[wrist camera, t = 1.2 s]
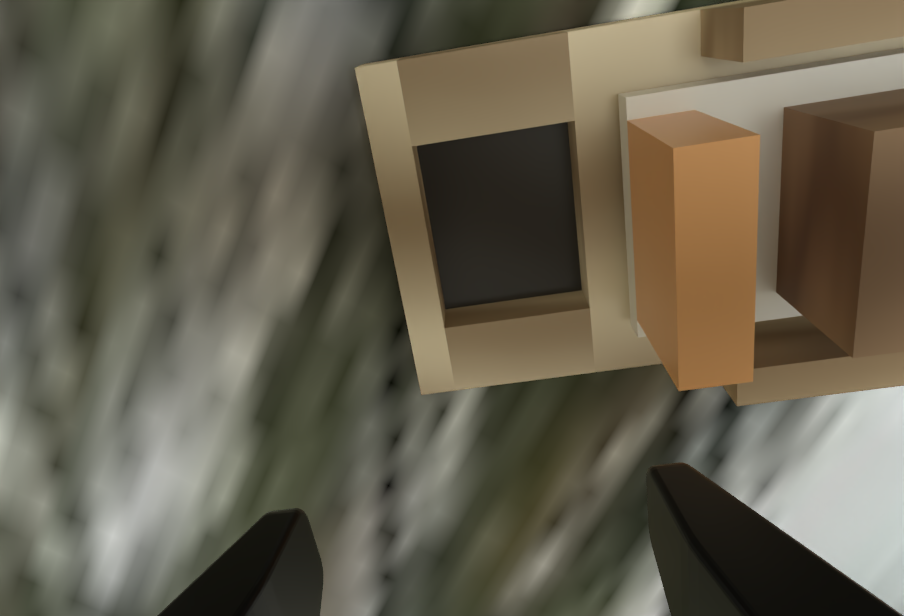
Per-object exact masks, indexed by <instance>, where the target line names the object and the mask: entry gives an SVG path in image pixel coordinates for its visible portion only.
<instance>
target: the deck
mask: <svg viewBox="0 0 904 616" xmlns="http://www.w3.org/2000/svg"><path fill="white" fill-rule="evenodd" d="M900 48H904V0H739V1H733V2H727V3H721V4H715V5H709V6H703V7H698V8H692V9H686V10H680V11H674V12H668V13H662V14H656V15H650V16H644V17H638V18H632V19H627V20H621V21H615V22H609V23H603V24H597V25H591V26H585V27H579V28H573V29H567V30H561V31H556V32H550V33H544V34H538V35H532V36H526V37H520V38H514V39H508V40H502V41H496V42H490V43H485V44H479V45H473V46H467V47H461V48H455V49H449V50H443V51H437V52H431V53H425V54H420V55H414V56H408V57H402V58H396V59H390V60H384V61H378V62H372V63H366V64H362V65H360V66H358V67H355V72H356V77H357V82H358V87H359V92H360V96H361V101H362V106H363V111H364V116H365V121H366V126H367V131H368V136H369V141H370V145H371V150H372V155H373V160H374V165H375V170H376V175H377V180H378V185H379V190H380V194H381V199H382V204H383V209H384V214H385V219H386V224H387V229H388V234H389V239H390V243H391V248H392V253H393V258H394V263H395V268H396V273H397V278H398V283H399V288H400V292H401V297H402V302H403V307H404V312H405V317H406V322H407V327H408V332H409V337H410V341H411V346H412V351H413V356H414V361H415V366H416V371H417V376H418V381H419V385H420V390H421V395H424V394H432V393H440V392H447V391H455V390H463V389H470V388H478V387H486V386H493V385H501V384H509V383H516V382H524V381H532V380H539V379H547V378H555V377H562V376H570V375H578V374H585V373H593V372H601V371H608V370H616V369H624V368H631V367H639V366H647V365H654V364H662V362H661V360H660V358H659V357H658V355H657V353H656V352H655V350H654V348H653V346H652V345H651V343H650V341H649V340H648V338H647V336H646V337H639V338H638V337H637V335H636V333H635V331H634V330H633V328H632V326H631V322H630V304H629V286H628V267H627V249H626V231H625V212H624V194H623V176H622V157H621V139H620V121H619V102H618V94H620V93H626V92H632V91H639V90H645V89H651V88H657V87H664V86H670V85H676V84H682V83H688V82H695V81H701V80H707V79H713V78H719V77H726V76H732V75H738V74H744V73H751V72H757V71H763V70H769V69H775V68H782V67H788V66H794V65H800V64H806V63H813V62H819V61H825V60H831V59H837V58H844V57H850V56H856V55H862V54H869V53H875V52H881V51H887V50H893V49H900ZM903 385H904V352H898V353H890V354H883V355H875V356H867V357H859V358H852V357H851V356H849V355H848V354H847V353H846V352H845V351H844V350H842V349H841V348H840V347H839V346H838V345H837V344H835V343H834V342H833V341H832V340H831V339H830V338H829V337H827V336H826V335H825V334H824V333H823V332H822V331H820V330H819V329H818V328H817V327H816V326H815V325H813V324H812V323H811V322H810V321H809V320H808V319H806V318H805V317H804V316H796V317H789V318H781V319H774V320H766V321H759V322H755V335H754V370H753V382H747V383H739V384H731V385H723V387H724V389H725V390H726V391H727V393H728V394H729V396H730V397H731V398H732V400H733V401H734V403H735V404H736V405H737V406H743V405H751V404H759V403H767V402H775V401H783V400H791V399H799V398H807V397H815V396H823V395H831V394H839V393H847V392H855V391H863V390H871V389H879V388H887V387H895V386H903Z"/></svg>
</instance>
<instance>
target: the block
mask: <svg viewBox="0 0 904 616" xmlns="http://www.w3.org/2000/svg"><path fill="white" fill-rule="evenodd" d="M776 293H777V294H779V295H780V296H781V297H782V298H783V299H784V300H786V301H787V302H788V303H789V304H790V305H791V306H793V307H794V308H795V309H796V310H797V311H798V312H799V313H801V314H802V315H803V316H804V317H805V318H806V319H808V320H809V321H810V322H811V323H812V324H813V325H815V326H816V327H817V328H818V329H819V330H820V331H822V332H823V333H824V334H825V335H826V336H827V337H829V338H830V339H831V340H832V341H833V342H834V343H835V344H837V345H838V346H839V347H840V348H841V349H842V350H844V351H845V352H846V353H847V354H848V355H849V356H851V357H852V358H859V357H867V356H875V355H883V354H890V353H898V352H904V88H903V89H897V90H891V91H884V92H878V93H872V94H865V95H859V96H852V97H846V98H840V99H833V100H827V101H820V102H814V103H808V104H801V105H795V106H789V107H784V115H783V139H782V163H781V186H780V210H779V234H778V258H777V282H776Z"/></svg>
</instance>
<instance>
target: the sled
mask: <svg viewBox="0 0 904 616" xmlns="http://www.w3.org/2000/svg"><path fill="white" fill-rule="evenodd" d="M903 88H904V48H900V49H893V50H887V51H881V52H875V53H869V54H862V55H856V56H850V57H844V58H837V59H831V60H825V61H819V62H813V63H806V64H800V65H794V66H788V67H782V68H775V69H769V70H763V71H757V72H751V73H744V74H738V75H732V76H726V77H719V78H713V79H707V80H701V81H695V82H688V83H682V84H676V85H670V86H664V87H657V88H651V89H645V90H639V91H632V92H626V93H620V94H618V102H619V121H620V139H621V157H622V176H623V194H624V212H625V231H626V249H627V267H628V286H629V304H630V322H631V326H632V328H633V330H634V331H635V333H636V335H637V337H638V338H639V337H646V336H647V338H648V340H649V341H650V343H651V345H652V346H653V348H654V350H655V352H656V353H657V355H658V357H659V358H660V360H661V362H662V363H663V365H664V367H665V368H666V370H667V372H668V374H669V375H670V377H671V379H672V380H673V382H674V384H675V385H676V387H677V389H678V391H684V390H692V389H699V388H707V387H715V386H723V385H731V384H739V383H747V382H753V370H754V335H755V322H759V321H766V320H774V319H781V318H789V317H796V316H803V315H802V314H801V313H799V312H798V311H797V310H796V309H795V308H794V307H793V306H791V305H790V304H789V303H788V302H787V301H786V300H784V299H783V298H782V297H781V296H780V295H779V294H777V293H776V282H777V258H778V234H779V210H780V186H781V163H782V139H783V115H784V107H789V106H795V105H801V104H808V103H814V102H820V101H827V100H833V99H840V98H846V97H852V96H859V95H865V94H872V93H878V92H884V91H891V90H897V89H903Z"/></svg>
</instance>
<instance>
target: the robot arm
mask: <svg viewBox="0 0 904 616" xmlns="http://www.w3.org/2000/svg"><path fill="white" fill-rule="evenodd" d="M646 486H647V506H648V525H649V533H650V539H651V543H652V547H653V551H654V555H655V558H656V562H657V566H658V569H659V573H660V576H661V580H662V584H663V587H664V591H665V594H666V598H667V602H668V605H669V609H670V612H671V616H903V615H902V614H900V613H899V612H897V611H896V610H895V609H893V608H892V607H890V606H889V605H887V604H886V603H885V602H883V601H882V600H880V599H879V598H877V597H876V596H875V595H873V594H872V593H870V592H869V591H868V590H866V589H865V588H863V587H862V586H860V585H859V584H858V583H856V582H855V581H853V580H852V579H850V578H849V577H848V576H846V575H845V574H843V573H842V572H841V571H839V570H838V569H836V568H835V567H833V566H832V565H831V564H829V563H828V562H826V561H825V560H823V559H822V558H821V557H819V556H818V555H816V554H815V553H813V552H812V551H811V550H809V549H808V548H806V547H805V546H804V545H802V544H801V543H799V542H798V541H796V540H795V539H794V538H792V537H791V536H789V535H788V534H786V533H785V532H784V531H782V530H781V529H779V528H778V527H777V526H775V525H774V524H772V523H771V522H769V521H768V520H767V519H765V518H764V517H762V516H761V515H759V514H758V513H757V512H755V511H754V510H752V509H751V508H749V507H748V506H747V505H745V504H744V503H742V502H741V501H740V500H738V499H737V498H735V497H734V496H732V495H731V494H730V493H728V492H727V491H725V490H724V489H722V488H721V487H720V486H718V485H717V484H715V483H714V482H712V481H711V480H710V479H708V478H707V477H705V476H704V475H703V474H701V473H700V472H698V471H697V470H695V469H694V468H693V467H691V466H690V465H688V464H685V463H672V464H663V465H655V466H651V467H650V468H649V469H648V470H647V474H646ZM322 590H323V567H322V562H321V558H320V555H319V552H318V548H317V545H316V542H315V539H314V536H313V532H312V529H311V526H310V523H309V520H308V517H307V515H306V514H305V512H304V511H303V510H301V509H299V508H294V509H286V510H278V511H271V512H268V513H266V514H265V515H264V516H262V517H261V518H260V519H259V520H258V521H257V522H256V523H255V524H254V525H253V526H252V527H251V528H249V529H248V530H247V531H246V532H245V533H244V534H243V535H242V536H241V537H240V538H239V539H238V540H237V541H236V542H235V543H234V544H233V545H232V546H230V547H229V548H228V549H227V550H226V551H225V552H224V553H223V554H222V555H221V556H220V557H219V558H218V559H217V560H216V561H215V562H214V563H212V564H211V565H210V566H209V567H208V568H207V569H206V570H205V571H204V572H203V573H202V574H201V575H200V576H199V577H198V578H197V579H196V580H195V581H193V582H192V583H191V584H190V585H189V586H188V587H187V588H186V589H185V590H184V591H183V592H182V593H181V594H180V595H179V596H178V597H177V598H175V599H174V600H173V601H172V602H171V603H170V604H169V605H168V606H167V607H166V608H165V609H164V610H163V611H162V612H161V613H160V614H159V615H158V616H320V609H321V599H322Z"/></svg>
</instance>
